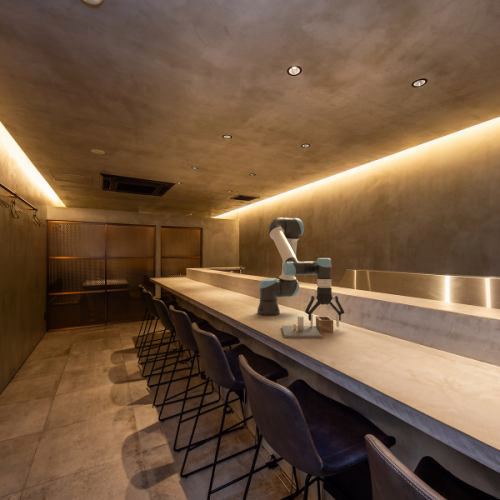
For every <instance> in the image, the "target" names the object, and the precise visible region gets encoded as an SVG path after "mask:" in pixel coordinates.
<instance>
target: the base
mask: <svg viewBox="0 0 500 500" xmlns="http://www.w3.org/2000/svg"><path fill="white" fill-rule="evenodd" d="M304 318H305V317H304V316H297V324H296V323H294V324H293V325H281V331H282V334H283V338H284V339H323V335H322V334H321V333H322V332H319V330H318V329H317V328H316V325H313V327H311V326H310V325H304V323H305V321H304Z"/></svg>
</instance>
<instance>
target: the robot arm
mask: <svg viewBox="0 0 500 500" xmlns="http://www.w3.org/2000/svg"><path fill="white" fill-rule="evenodd" d="M267 230H268V235H269V237H270V239H271V240H273V242H274V244H275V247H276V248H277V251H278V253H279V255H280V257H281V259H282V267H281V275H279V276H278V277H279V278H278V279H277V278H276V277H268V278H264V279H261V280H259V281H260V282H259V303H258V306H257V311H256V312H257V313H256V314H257V315H259V316H265V317H267V316H277V315H280V312H281V309H280V306H279V303H278V298H291V297H295V296H297V294H298V293H299V290H300V282H299V280H298V279H297V277H296V276H311V275H312V276H313V275H315V276H316V286H317V288H316V295H315V296H314V295H311V296H310V300H309V303H308V305H307V306H306V308H305V310H304V313H305V314H307V315H308V316H307V317H308V321H310V324H309V326H311V327H313V326H314V321H313V319H314V318H313V317H314V315H313V313H314V312H315V310H316V309H317V308H318V307H319V306H320V305H322V306H323V305H326V306H327V305H329V306H331V308H332V309H334V311H335V312H336V313H335V319H336V321H335V326H336V327H337V328H340V321H341V320H342V314H343V315H344V314H345V311H344V309H343V306H342V305H341V303H340V301H339V296H337V295H332V293H333V291H332V289H333V288H332V259H331V258H330V257H318V258H317V259H316V261H314V260H310V261H309V260H307V261H300V260H298V258H297V248H298V247H297V246H298V241H299V240H301V239H300V238H301V236H303V234H304V232H305V225H304V223H303V221H302V220H301V219H300V218H297V217H281V216H280V217H276V218H274V219H272V221H271V222H270V223H269V224H268V228H267ZM315 300H316V303H315V304H314V305H313V303H314V301H315ZM332 301H334V302H335V303H336V306H337V307H338V308H337V307H336V306H335V304H334V303H333V302H332ZM312 305H313V306H312Z"/></svg>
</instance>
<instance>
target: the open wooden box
mask: <svg viewBox="0 0 500 500" xmlns="http://www.w3.org/2000/svg"><path fill="white" fill-rule="evenodd" d="M315 327H316V328H317V329H318V331H319V332H320V333H334V319H332V317H330V316H329V315H315Z"/></svg>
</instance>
